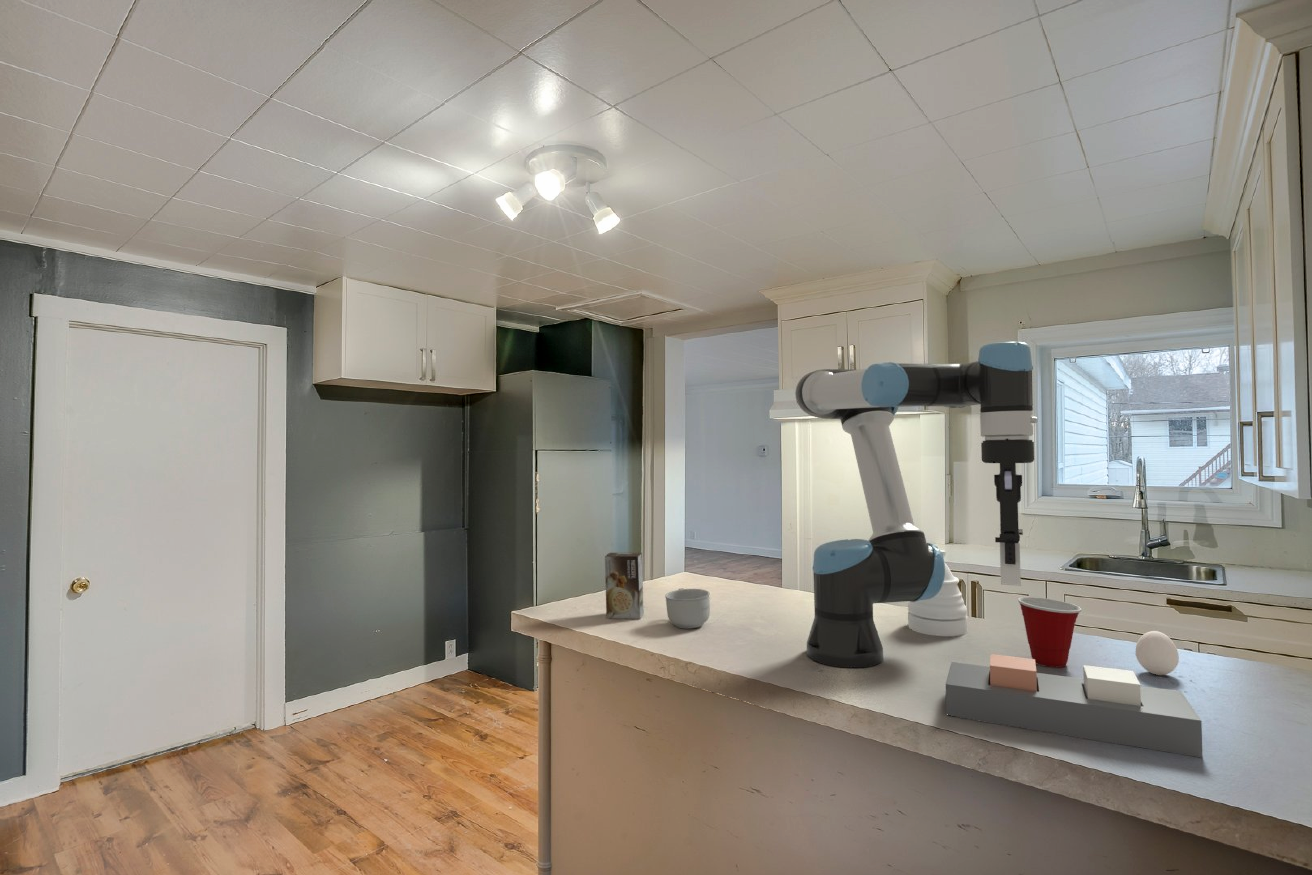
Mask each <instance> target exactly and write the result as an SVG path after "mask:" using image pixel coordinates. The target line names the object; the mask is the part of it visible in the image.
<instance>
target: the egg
mask: <svg viewBox="0 0 1312 875" xmlns="http://www.w3.org/2000/svg"><path fill="white" fill-rule="evenodd" d="M1135 657H1136V660H1137V661H1138V664H1140V666H1141V667H1142V668H1143V669H1144V670H1145V671H1147V672H1148V673H1150V674H1153V675H1155V674H1156V675H1155V676H1166V675H1168V674H1171V673H1172V672H1174V671H1175V669H1176V668H1177V667H1178V665H1179V660H1180V656H1179V651H1178V648H1177V646H1176V645H1175V643H1174V642H1173V639H1171V638H1170V637H1169V636H1168V635H1166V634H1165V633H1163V632H1160V631H1158V630H1152V631H1151V630H1150V631H1147V632H1146V633H1143V635H1141V636H1140V638H1139V639H1138V641H1137V642H1136V646H1135Z"/></svg>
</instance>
